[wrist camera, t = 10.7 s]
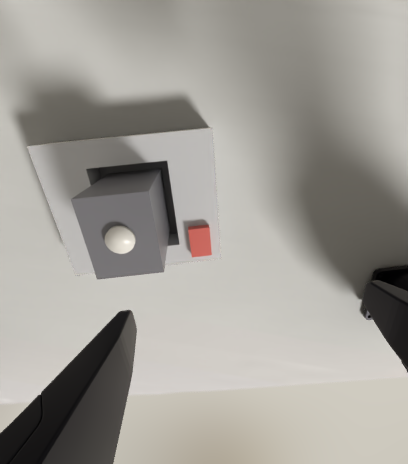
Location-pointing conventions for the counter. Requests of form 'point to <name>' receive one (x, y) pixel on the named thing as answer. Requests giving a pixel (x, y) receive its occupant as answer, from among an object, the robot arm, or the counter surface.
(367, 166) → the counter surface
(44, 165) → the socket
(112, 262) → the plug
